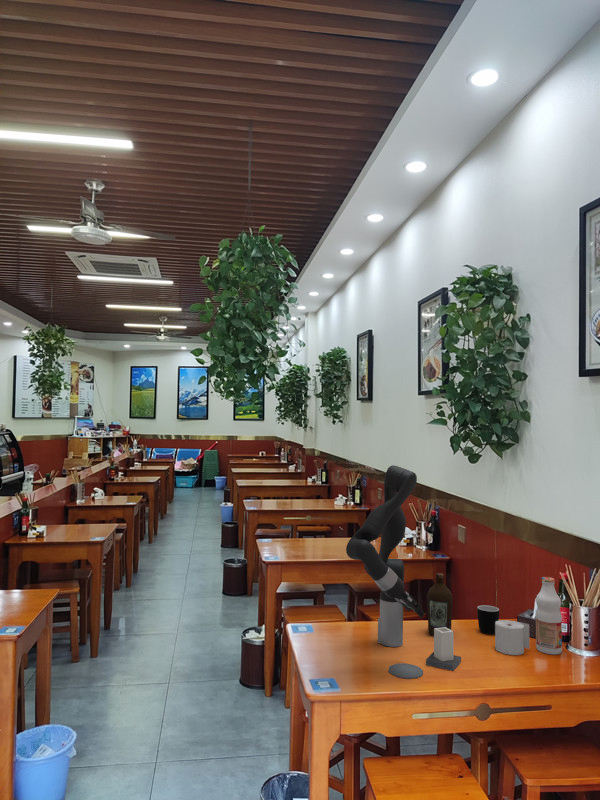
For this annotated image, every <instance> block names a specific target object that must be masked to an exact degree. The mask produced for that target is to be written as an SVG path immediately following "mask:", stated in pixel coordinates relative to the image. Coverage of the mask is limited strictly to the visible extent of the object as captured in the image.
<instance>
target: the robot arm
mask: <svg viewBox="0 0 600 800" xmlns="http://www.w3.org/2000/svg"><path fill="white" fill-rule="evenodd" d="M417 481H418V478H417V474H416V472H413V471H411V470H409V469H406V468H403V467H401V466H398V465H394V464H393V465H390V466H389V467H388V468H387V469H386V472H385V475H384V482H383V503H382V504H381V505H379V506H377V507H375V508H374V509H373V510H371V512H370V513H369V514H368V516H367V518H366V519H365V520H364V522H363V524H362V526H361V527H360V528H359V529H358V530H357V531H356V532H355V534H353V535H352V537H351V538H350V539H349V540H348V542H347V544H346V546H345V552H346V555H347V557H348V558H350V559H351V560H357V561H361V562H362V563H363V564H364V570H365V572H366V573H367V574H368V576H370V578H371V579H372V580H373V581H374V583H375V584H376V586H378V588H379V589H380V590H381V591H380V592H379V593H380V594H379V617H378V618H377V643H378V644H380V645H382V646H385V647H389V648H391V647H392V648H398V647H402V646H403V645H404V644H403V643H404V609H405V610H406V611H408V612H411V610H413V612H414V613H416V615H417V616H418V617H419V618H421V619H422V618H424V616H425V612H424V610H423V609H422V608H421V607H422V605H421V604H420V603H419V602H418V601H417V600H416V599H415V598H414V597H413V596H412V595H411V594H409V593H408V592H407V591H406V590H405V583H404V582H405V580H404V579H405V563H404V561H403V560H402V559H400V558H389V557H390V556H391V553H392V552H393V551H394V550H395V549H396V548H397V547H398V545H399V544H401V542H402V541H403V539H404V537H405V534H406V528H407V519H406V515H405V513H404V511H403V508H402V507H401V506H402V505H403V504H404V503H405V501H406V500H407V499H408V498H409V497H410V495H411V494H412V493H413V491H414V490H415V488H416V486H417ZM379 537H380V546H379V552H378V551H377V549H376V548H375V546H374V545H373V544H372V543H371V542H374V541H376V540H377V539H379Z"/></svg>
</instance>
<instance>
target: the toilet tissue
mask: <svg viewBox="0 0 600 800" xmlns="http://www.w3.org/2000/svg"><path fill="white" fill-rule="evenodd" d="M494 635H495V637H494V640H495V641H494V646H495V647H494V649H495V650H496V651H497V652H499V653H501V654H505V655H509V656H521V655H523V654H525V649H528V650H529V649H530V624H529V623H525V622H521V621H514V620H508V619H506V620H505V619H504V620H503V619H501V620H500V619H499V621H496V622H495V634H494Z"/></svg>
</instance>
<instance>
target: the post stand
mask: <svg viewBox="0 0 600 800" xmlns="http://www.w3.org/2000/svg"><path fill="white" fill-rule="evenodd" d="M461 663H462V656H460V655H455V654H454V657H453V660H448V661H441V660H439V659H437V658H436V657H434V651H433V652H431V654H430V655H429V656H427V658H426V659H425V666H429V667H433V668H437V669H442V670H446V669H447V671H450V670H451V672H455V670H456V669H457V667H458V666H459V665H460V664H461Z"/></svg>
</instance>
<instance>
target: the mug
mask: <svg viewBox="0 0 600 800" xmlns="http://www.w3.org/2000/svg"><path fill="white" fill-rule="evenodd" d="M476 607H477V610H476V611H477V612H476V613H477V623H478V628H479V631H480V633H481V634H484V635H488V634H490V635H492V634H494V635H495V622H496V621H499V620H500V609H499V608H498V607H496V606H493V605H485V604H484V605H478V606H476ZM490 635H489V636H490ZM492 636H493V635H492Z"/></svg>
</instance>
